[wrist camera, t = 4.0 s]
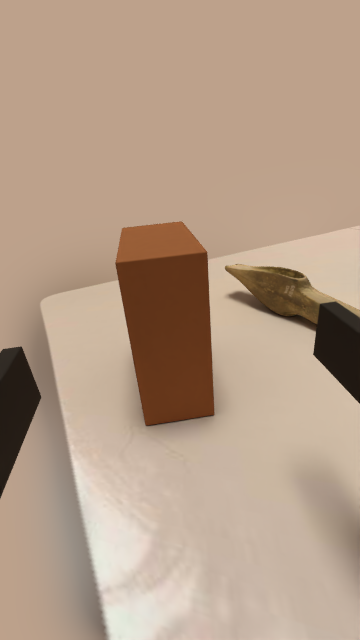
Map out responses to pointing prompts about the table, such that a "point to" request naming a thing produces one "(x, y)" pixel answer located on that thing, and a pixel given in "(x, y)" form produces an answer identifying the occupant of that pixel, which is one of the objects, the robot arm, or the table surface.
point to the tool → (283, 290)
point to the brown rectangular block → (167, 320)
